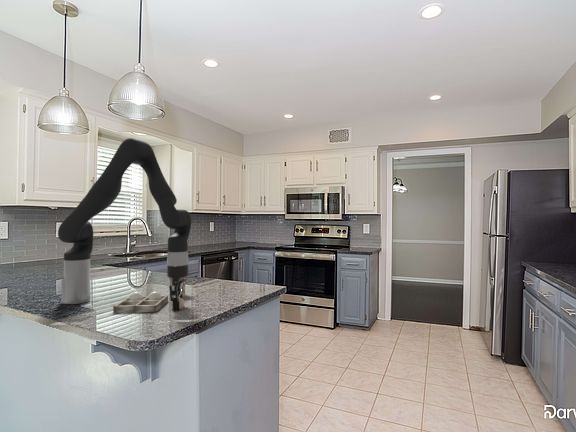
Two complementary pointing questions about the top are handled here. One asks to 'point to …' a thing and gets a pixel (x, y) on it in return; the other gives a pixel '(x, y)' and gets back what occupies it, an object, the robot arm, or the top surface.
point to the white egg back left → (136, 296)
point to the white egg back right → (154, 296)
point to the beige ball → (181, 303)
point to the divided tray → (140, 305)
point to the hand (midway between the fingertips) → (177, 309)
